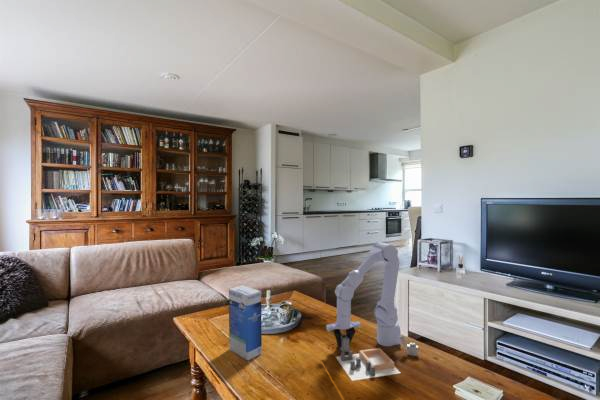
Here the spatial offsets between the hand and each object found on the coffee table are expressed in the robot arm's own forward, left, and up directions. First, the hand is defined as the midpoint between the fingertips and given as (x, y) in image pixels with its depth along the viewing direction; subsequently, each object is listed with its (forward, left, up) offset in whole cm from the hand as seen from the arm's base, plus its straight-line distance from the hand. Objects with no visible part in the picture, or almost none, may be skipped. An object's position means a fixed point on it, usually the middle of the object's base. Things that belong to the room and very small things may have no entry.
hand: (343, 346), depth 125 cm
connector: (0, 0, -2) cm, 2 cm away
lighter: (-24, +10, -2) cm, 26 cm away
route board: (-4, +13, -2) cm, 14 cm away
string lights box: (+40, -9, -2) cm, 41 cm away
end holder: (-8, +12, -1) cm, 15 cm away
